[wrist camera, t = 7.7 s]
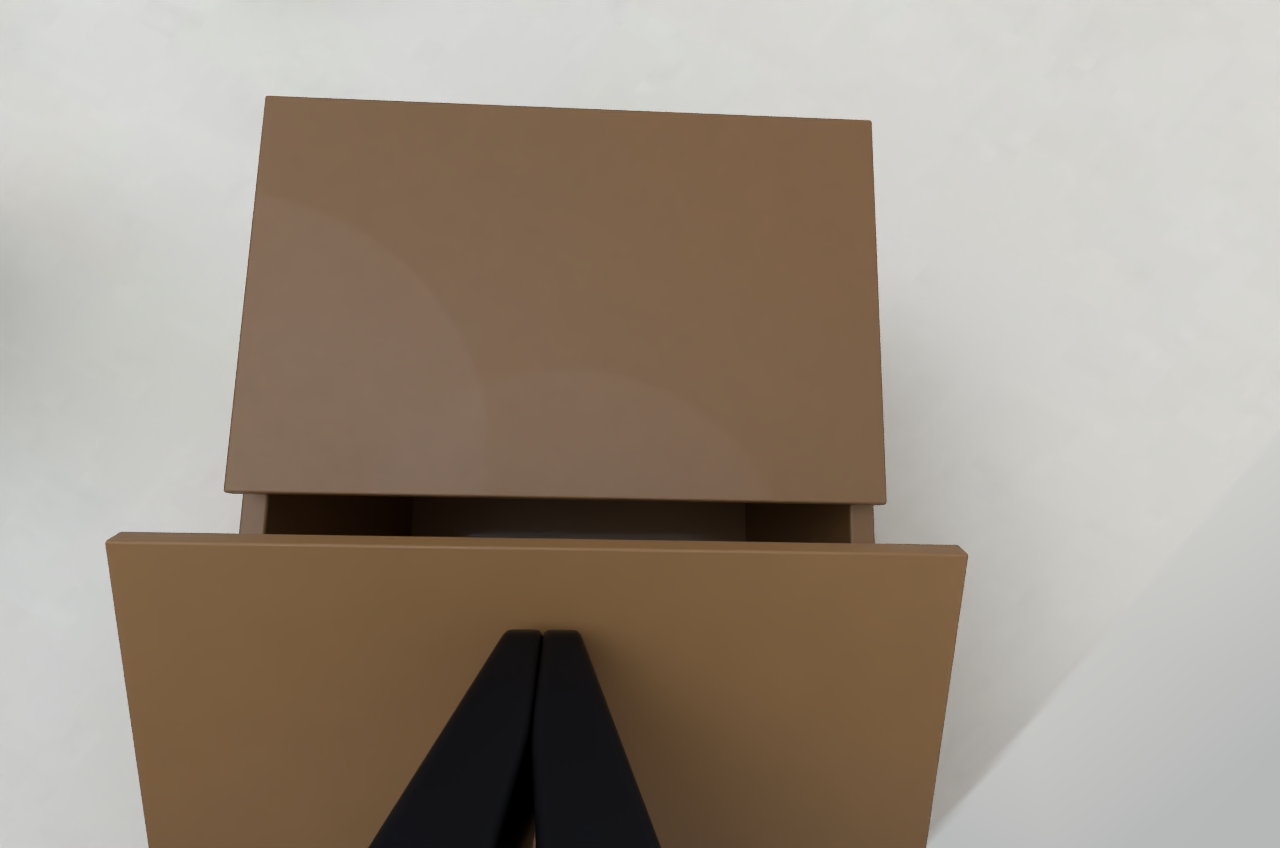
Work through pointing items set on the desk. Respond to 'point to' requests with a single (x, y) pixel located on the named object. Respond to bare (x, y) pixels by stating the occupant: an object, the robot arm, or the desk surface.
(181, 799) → the flap
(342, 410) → the carton
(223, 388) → the desk surface
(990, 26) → the desk surface
